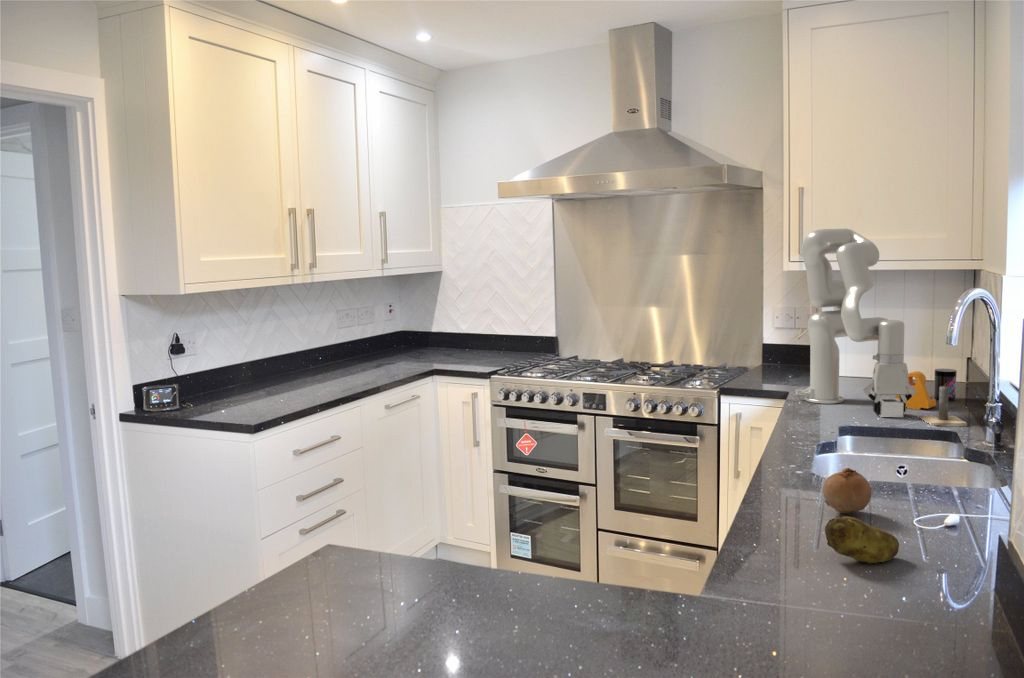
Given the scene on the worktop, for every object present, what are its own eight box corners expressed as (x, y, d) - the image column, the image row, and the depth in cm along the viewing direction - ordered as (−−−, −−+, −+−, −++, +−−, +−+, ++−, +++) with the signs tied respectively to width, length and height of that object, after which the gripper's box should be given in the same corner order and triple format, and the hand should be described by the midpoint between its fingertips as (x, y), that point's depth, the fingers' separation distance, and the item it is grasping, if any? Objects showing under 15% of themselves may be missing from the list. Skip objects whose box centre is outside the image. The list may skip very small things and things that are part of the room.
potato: (905, 572, 138) (907, 528, 137) (826, 567, 141) (827, 523, 140) (895, 553, 146) (896, 511, 145) (821, 549, 149) (821, 508, 148)
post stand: (930, 426, 239) (932, 390, 238) (920, 418, 249) (921, 384, 248) (967, 426, 237) (968, 390, 236) (954, 418, 247) (955, 384, 246)
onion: (868, 524, 161) (869, 476, 160) (819, 517, 166) (820, 471, 165) (873, 509, 169) (874, 464, 168) (826, 504, 174) (826, 459, 173)
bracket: (936, 407, 264) (937, 371, 263) (928, 411, 259) (929, 374, 258) (903, 403, 272) (904, 368, 271) (894, 406, 267) (895, 371, 266)
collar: (881, 418, 252) (881, 402, 251) (875, 413, 258) (875, 398, 257) (903, 418, 250) (903, 402, 250) (897, 413, 257) (897, 398, 256)
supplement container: (933, 400, 274) (933, 371, 273) (934, 397, 280) (935, 368, 278) (955, 402, 271) (956, 372, 269) (956, 398, 276) (957, 369, 275)
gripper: (864, 360, 250) (863, 416, 252) (923, 360, 247) (922, 416, 249) (858, 357, 257) (857, 411, 259) (916, 356, 254) (914, 411, 256)
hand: (889, 413), depth 254 cm, fingers closed on collar, 6 cm apart
